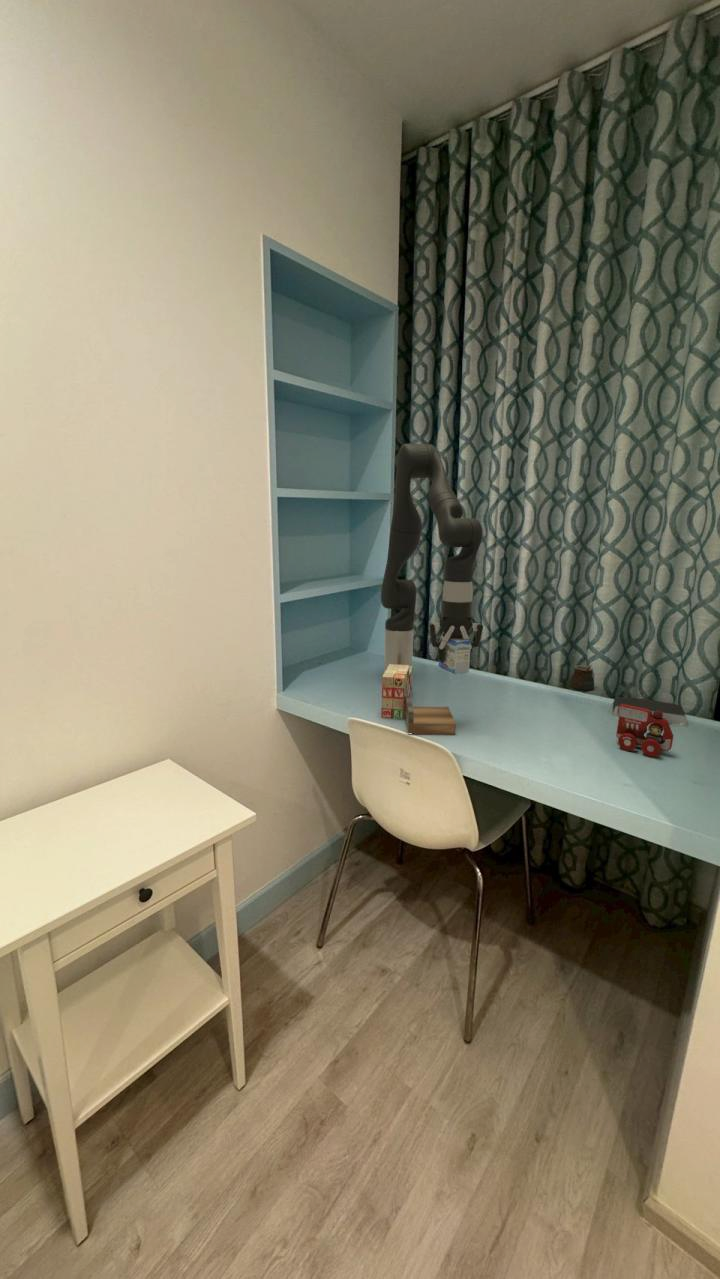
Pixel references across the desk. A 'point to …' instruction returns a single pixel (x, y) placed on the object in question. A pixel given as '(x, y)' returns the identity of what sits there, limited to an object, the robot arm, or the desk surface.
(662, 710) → the grey flat block
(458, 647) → the medicine box
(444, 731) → the dock
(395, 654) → the robot arm
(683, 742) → the desk surface
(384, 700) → the stack of blocks
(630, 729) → the toy fire truck
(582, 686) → the mate gourd
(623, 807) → the desk surface
